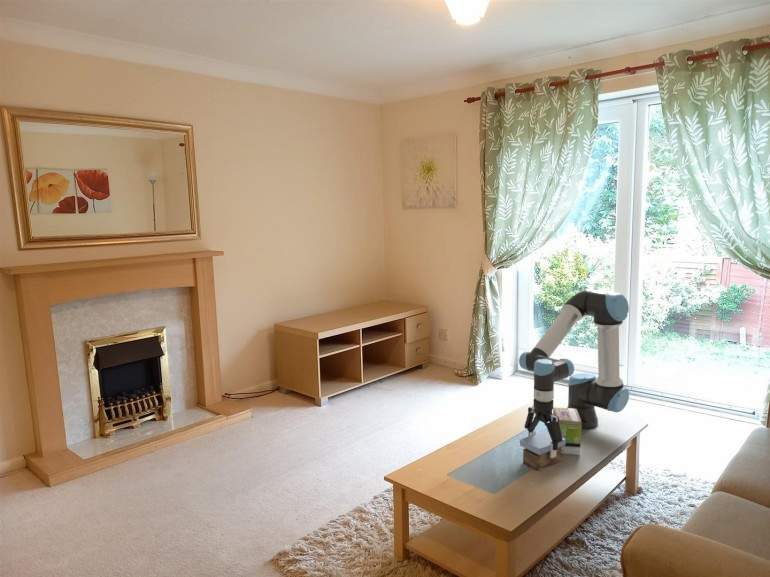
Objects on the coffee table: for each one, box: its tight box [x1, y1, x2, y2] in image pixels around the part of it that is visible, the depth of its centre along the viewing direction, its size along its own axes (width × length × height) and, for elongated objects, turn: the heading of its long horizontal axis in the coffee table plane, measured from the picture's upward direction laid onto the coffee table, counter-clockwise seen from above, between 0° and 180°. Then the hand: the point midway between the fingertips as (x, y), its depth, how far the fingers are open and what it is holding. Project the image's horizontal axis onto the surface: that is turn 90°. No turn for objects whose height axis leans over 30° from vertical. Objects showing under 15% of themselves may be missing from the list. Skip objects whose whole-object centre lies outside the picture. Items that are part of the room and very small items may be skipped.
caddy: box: [522, 447, 562, 471], centre depth 211 cm, size 14×7×6 cm, turn 122°
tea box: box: [552, 406, 583, 456], centre depth 224 cm, size 15×10×15 cm
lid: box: [519, 429, 566, 455], centre depth 211 cm, size 15×10×3 cm, turn 121°
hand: (542, 451), depth 211 cm, fingers closed on lid, 10 cm apart
